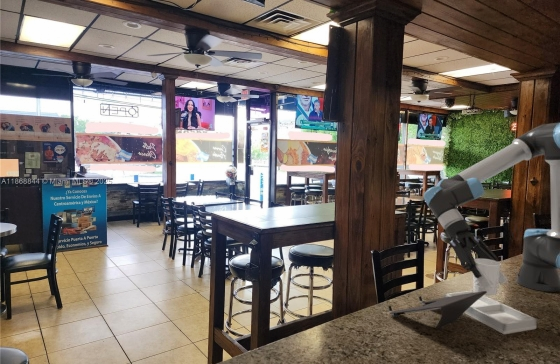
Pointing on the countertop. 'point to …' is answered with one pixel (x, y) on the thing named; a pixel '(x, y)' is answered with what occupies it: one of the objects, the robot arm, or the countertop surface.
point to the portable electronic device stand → (445, 307)
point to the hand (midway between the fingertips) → (496, 284)
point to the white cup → (488, 275)
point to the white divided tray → (498, 315)
